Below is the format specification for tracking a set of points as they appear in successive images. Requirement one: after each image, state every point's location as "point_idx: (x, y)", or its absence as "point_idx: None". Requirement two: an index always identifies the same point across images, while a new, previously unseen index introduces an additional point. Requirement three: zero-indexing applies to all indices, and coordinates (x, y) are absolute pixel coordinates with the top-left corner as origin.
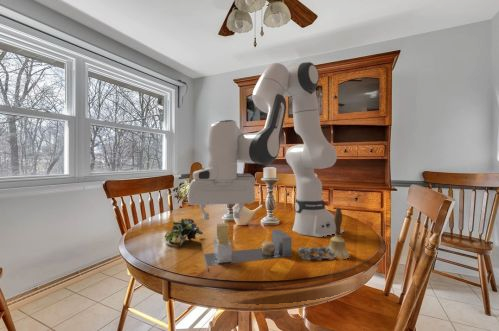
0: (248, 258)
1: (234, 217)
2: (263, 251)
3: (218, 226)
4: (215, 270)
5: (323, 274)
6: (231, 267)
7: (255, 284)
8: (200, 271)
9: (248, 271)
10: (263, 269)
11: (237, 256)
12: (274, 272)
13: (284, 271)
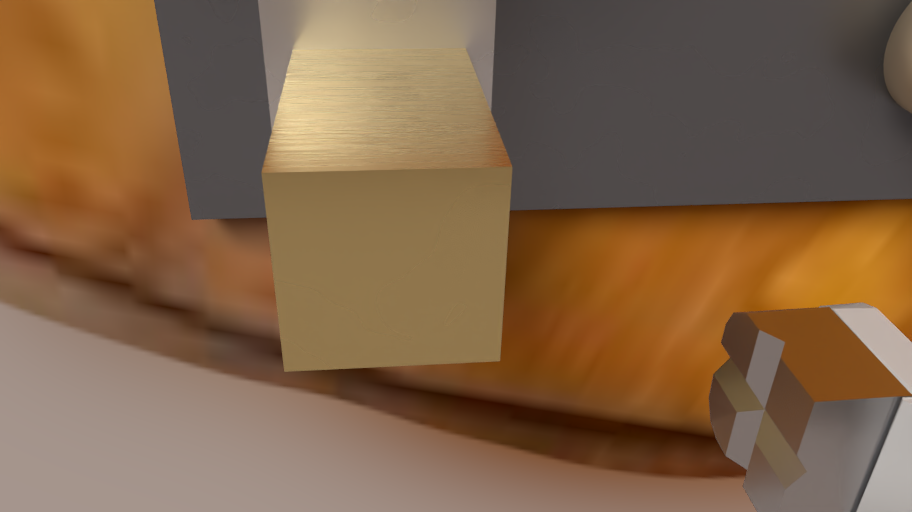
0: (665, 143)
1: (727, 352)
2: (904, 77)
3: (283, 352)
4: None
5: None
6: None
7: (548, 449)
8: (125, 182)
9: (577, 276)
10: (716, 269)
11: (568, 54)
12: None
13: None
